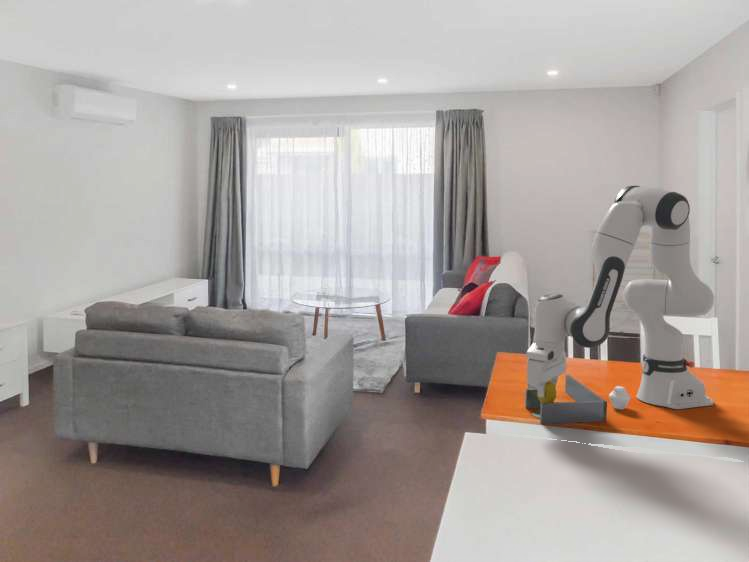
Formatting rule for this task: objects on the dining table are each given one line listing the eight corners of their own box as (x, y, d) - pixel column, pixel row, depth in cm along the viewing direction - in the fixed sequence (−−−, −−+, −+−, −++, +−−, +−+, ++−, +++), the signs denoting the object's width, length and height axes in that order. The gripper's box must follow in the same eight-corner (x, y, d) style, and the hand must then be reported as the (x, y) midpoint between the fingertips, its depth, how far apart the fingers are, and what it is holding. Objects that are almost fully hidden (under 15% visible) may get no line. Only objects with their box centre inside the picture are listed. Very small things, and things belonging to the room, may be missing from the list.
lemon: (556, 409, 179) (557, 383, 178) (537, 408, 180) (538, 382, 179) (554, 403, 185) (555, 377, 184) (536, 402, 186) (536, 377, 185)
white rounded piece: (604, 404, 192) (606, 383, 191) (623, 404, 192) (624, 382, 191) (614, 411, 186) (615, 389, 185) (633, 411, 186) (634, 388, 185)
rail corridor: (568, 391, 204) (568, 374, 204) (606, 421, 177) (607, 401, 176) (511, 393, 203) (512, 376, 202) (541, 423, 176) (541, 403, 175)
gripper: (553, 340, 190) (551, 383, 192) (523, 353, 174) (521, 400, 176) (572, 343, 186) (570, 387, 188) (544, 357, 170) (542, 404, 172)
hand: (546, 393), depth 182 cm, fingers closed on lemon, 5 cm apart
